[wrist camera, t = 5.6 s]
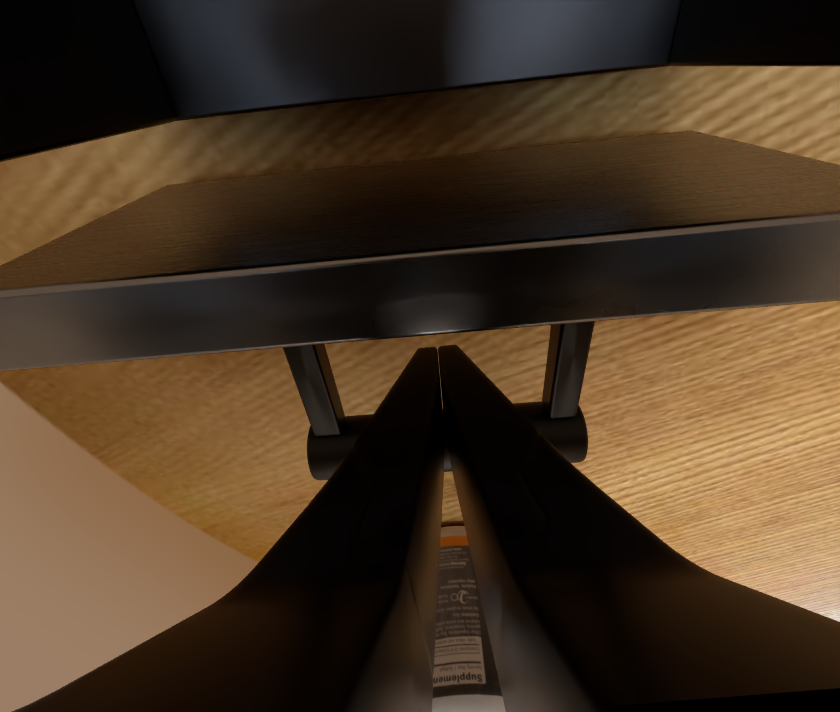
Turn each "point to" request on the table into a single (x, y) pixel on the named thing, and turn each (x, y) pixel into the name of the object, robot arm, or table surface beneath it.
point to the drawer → (403, 188)
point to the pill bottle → (462, 635)
